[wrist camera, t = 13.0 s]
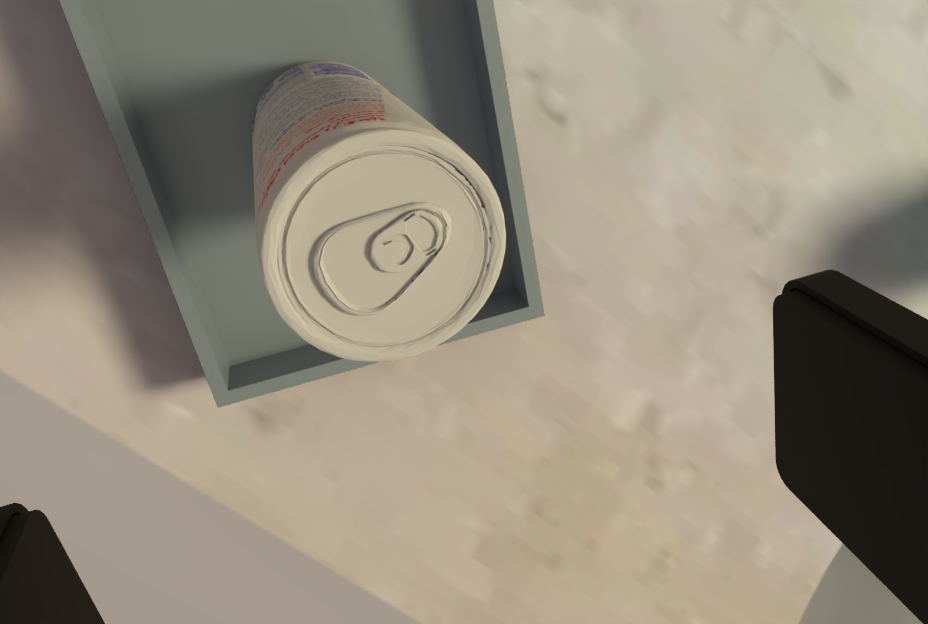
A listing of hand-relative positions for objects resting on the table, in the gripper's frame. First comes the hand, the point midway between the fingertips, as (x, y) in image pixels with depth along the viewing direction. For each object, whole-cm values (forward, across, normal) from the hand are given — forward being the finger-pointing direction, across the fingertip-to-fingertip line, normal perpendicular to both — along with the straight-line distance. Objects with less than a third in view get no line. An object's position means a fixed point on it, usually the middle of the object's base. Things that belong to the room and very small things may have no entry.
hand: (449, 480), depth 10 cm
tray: (+24, 0, 0) cm, 24 cm away
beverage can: (+23, 0, 0) cm, 23 cm away
